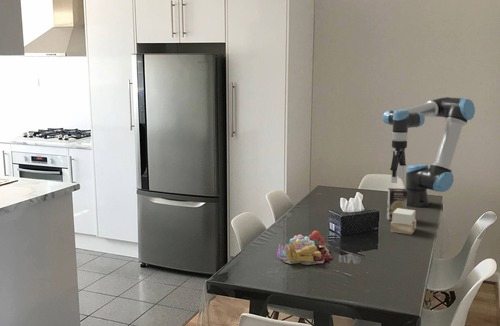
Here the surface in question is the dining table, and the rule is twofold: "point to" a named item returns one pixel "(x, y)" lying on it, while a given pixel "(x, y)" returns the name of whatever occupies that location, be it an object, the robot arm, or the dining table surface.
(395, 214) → the tower top block
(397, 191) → the coffee box
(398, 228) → the tower base block
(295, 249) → the plate of sweets
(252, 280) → the dining table surface
